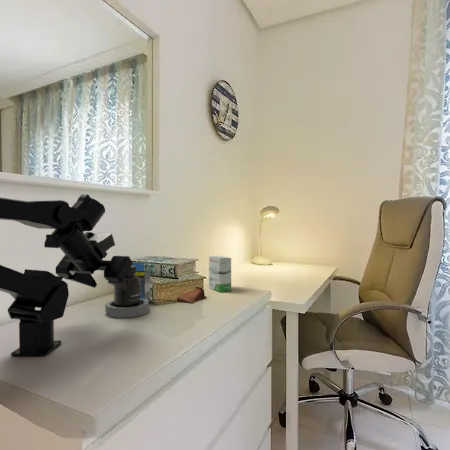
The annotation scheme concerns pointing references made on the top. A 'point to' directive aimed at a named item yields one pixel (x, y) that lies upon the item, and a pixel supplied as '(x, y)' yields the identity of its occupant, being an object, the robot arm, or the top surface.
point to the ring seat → (127, 309)
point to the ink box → (220, 273)
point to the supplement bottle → (128, 291)
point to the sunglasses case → (192, 296)
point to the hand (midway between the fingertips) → (110, 287)
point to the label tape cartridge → (143, 281)
